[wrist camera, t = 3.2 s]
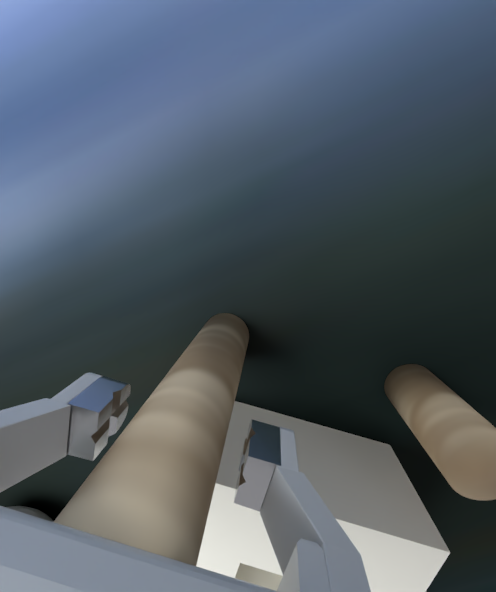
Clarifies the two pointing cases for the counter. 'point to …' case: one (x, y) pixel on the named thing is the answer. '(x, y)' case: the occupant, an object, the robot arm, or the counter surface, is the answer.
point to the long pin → (168, 453)
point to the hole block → (340, 501)
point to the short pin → (446, 430)
